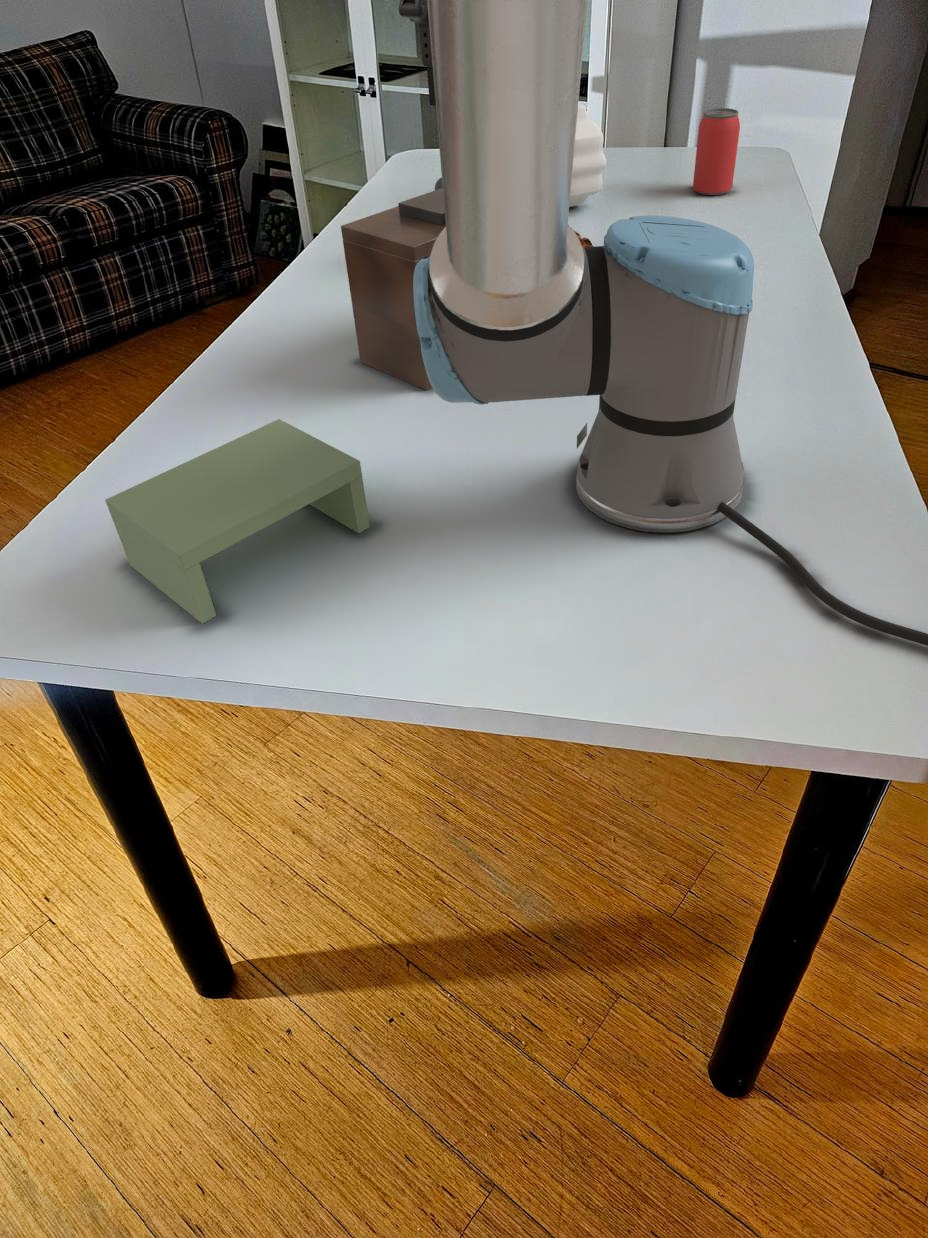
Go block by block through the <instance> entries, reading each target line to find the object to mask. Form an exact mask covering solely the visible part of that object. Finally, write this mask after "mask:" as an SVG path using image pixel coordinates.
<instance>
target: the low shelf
mask: <svg viewBox="0 0 928 1238" xmlns="http://www.w3.org/2000/svg"><path fill="white" fill-rule="evenodd" d="M104 502H105V503H106V506H107V509H108V511H109V514H110V517H111V519H112V522H113V525H114V527H115V530H116V532H117V535H118V538H119V541H120V543H121V545H122V547H123V550H124V553H125V556H126V558H127V561H128V563H129V566H130V567H132V568H133V569H134V570H135V571H136V572H138V573H139V574H140V575H141V576H142V577H144V579H146V580H148V581H149V582H150V583H151V584H152V585H153V586H155V587H156V588H157V589H158V590H159V591H161V592H162V593H163V594H165V595H166V596H167V597H168V598H170V599H171V600H172V601H173V602H174V603H176V604H177V605H178V606H179V607H181V608H182V609H183V610H185V611H186V612H187V613H188V614H189V615H191V616H192V617H193V618H194V619H195V620H197V622H199V623H200V624H202V625H203V624H205V623H207V622H208V621H210V620H212V619H215V617H217V613H216V610H215V607H214V604H213V601H212V597H211V594H210V591H209V588H208V585H207V581H206V579H205V576H204V573H203V568H202V565H201V562H204V561H205V560H207V559H210V558H211V557H213V556H214V555H216V554H218V553H220V552H222V551H224V550H226V549H228V548H229V547H231V546H234V545H235V544H237V543H239V542H240V541H242V540H244V539H247V538H248V537H250V536H252V535H254V534H255V533H258V532H259V531H261V530H263V529H266V528H267V527H269V526H271V525H272V524H275V523H276V522H278V521H280V520H282V519H283V518H286V517H288V516H290V515H292V514H293V513H295V512H297V511H299V510H301V509H302V508H304V507H306V506H308V505H309V506H312V507H313V508H315V509H317V510H318V511H319V512H322V513H323V514H325V515H327V516H328V517H329V518H332V519H333V520H335V521H337V522H338V523H339V524H341V525H343V526H345V527H346V528H348V529H350V530H352V531H354V532H355V533H357V534H361V533H363V532H364V531H366V530H368V529H369V528H370V527H371V523H370V517H369V511H368V505H367V499H366V493H365V485H364V479H363V472H362V466H361V461H360V460H359V459H357V458H355V457H353V456H351V455H349V454H347V453H346V452H343V451H341V450H340V449H338V448H336V447H334V446H332V445H330V444H329V443H326V442H324V441H322V440H320V439H318V438H316V437H315V436H313V435H311V434H309V433H307V432H305V431H304V430H301V429H299V428H297V427H296V426H293V425H292V424H290V423H287V422H286V421H284V420H282V419H280V418H278V419H276V420H274V421H271V422H269V423H267V424H265V425H263V426H261V427H259V428H256V429H255V430H252V431H250V432H248V433H246V434H243V435H241V436H239V437H236V438H235V439H233V440H231V441H229V442H227V443H223V444H222V445H220V446H218V447H215V448H213V449H211V450H209V451H207V452H205V453H202V454H201V455H199V456H196V457H194V458H191V459H189V460H188V461H185V462H183V463H181V464H179V465H177V466H174V467H173V468H171V469H168V470H166V471H164V472H162V473H160V474H158V475H156V476H153V477H151V478H149V479H147V480H145V481H143V482H140V483H138V484H136V485H134V486H131V487H129V488H127V489H125V490H123V491H120V492H119V493H117V494H115V495H112V496H110V497H108V498H106V499H105V500H104Z"/></svg>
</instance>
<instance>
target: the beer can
mask: <svg viewBox="0 0 928 1238" xmlns="http://www.w3.org/2000/svg"><path fill="white" fill-rule="evenodd" d="M739 114H740V113H739V111H738V110H737V109H734V108H728V107H716V108H710V109H706V110H705V111H703V115H702V117H701V120H700V122H699V124H698V133H697V140H696V141H697V142H696V150H695V162H694V170H693V171H694V172H693V183H692V190H693V191H694V192H696V194H700V195H703V196H721V195H725V194H727V193H729V192H730V191H731V190H732V189H733V185H734V176H735V170H736V162H737V154H738V146H739V138H740V129H741V124H740V119H739Z"/></svg>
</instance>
